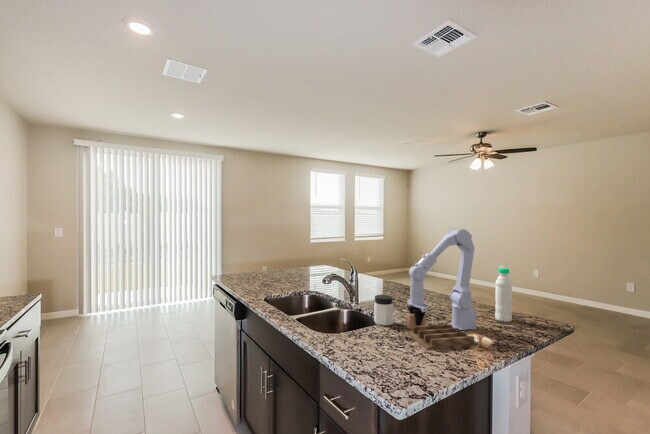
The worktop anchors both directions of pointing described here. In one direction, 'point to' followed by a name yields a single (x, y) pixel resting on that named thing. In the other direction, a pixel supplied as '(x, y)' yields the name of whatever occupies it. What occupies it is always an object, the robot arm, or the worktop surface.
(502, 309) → the water bottle
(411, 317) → the tile
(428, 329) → the rack
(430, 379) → the worktop surface
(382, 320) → the jar
